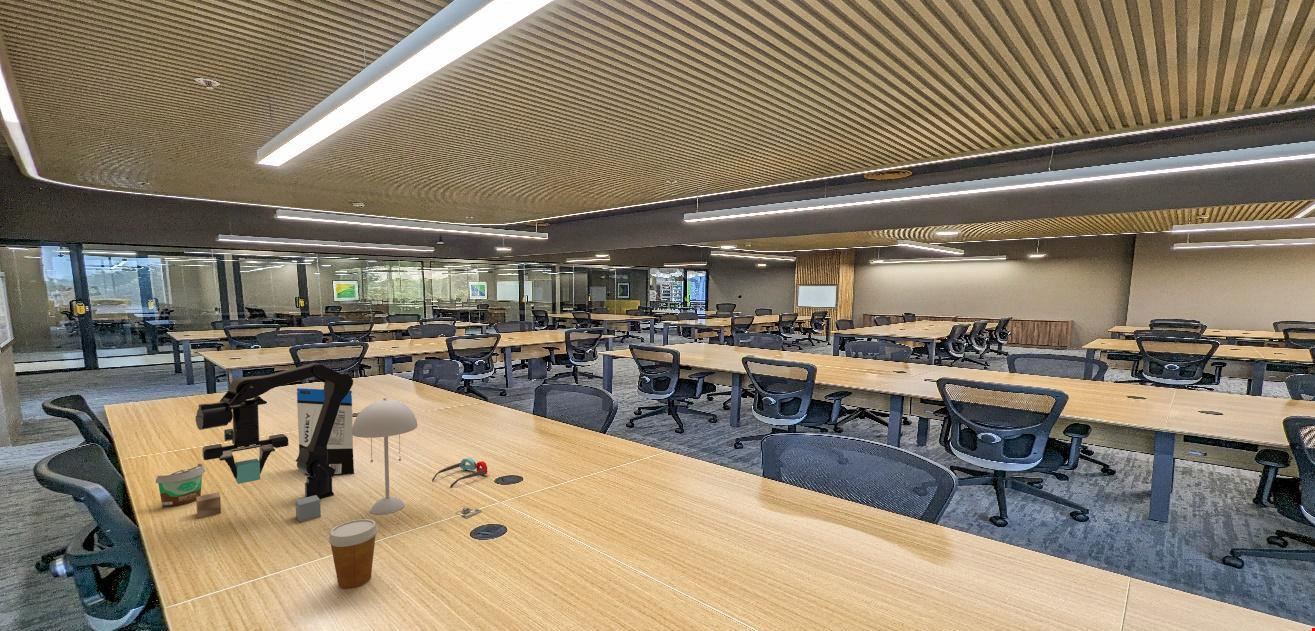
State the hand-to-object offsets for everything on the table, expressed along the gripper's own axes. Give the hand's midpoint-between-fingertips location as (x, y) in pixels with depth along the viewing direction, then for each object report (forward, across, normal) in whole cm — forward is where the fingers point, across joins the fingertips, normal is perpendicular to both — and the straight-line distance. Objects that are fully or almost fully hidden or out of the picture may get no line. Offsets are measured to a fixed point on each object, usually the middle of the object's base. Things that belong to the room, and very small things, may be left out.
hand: (247, 475), depth 145 cm
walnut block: (+12, +8, -12) cm, 19 cm away
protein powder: (+12, -25, -29) cm, 40 cm away
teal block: (+1, 0, 0) cm, 1 cm away
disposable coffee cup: (+12, -12, +59) cm, 61 cm away
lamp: (+12, -30, +22) cm, 39 cm away
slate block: (+12, -12, +12) cm, 21 cm away
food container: (+12, +12, -28) cm, 33 cm away
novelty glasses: (+13, -56, +13) cm, 59 cm away
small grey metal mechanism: (+13, -48, +45) cm, 67 cm away
